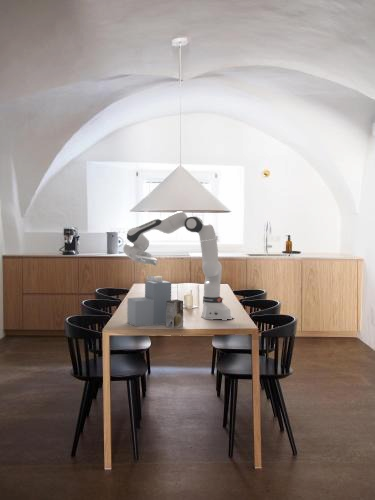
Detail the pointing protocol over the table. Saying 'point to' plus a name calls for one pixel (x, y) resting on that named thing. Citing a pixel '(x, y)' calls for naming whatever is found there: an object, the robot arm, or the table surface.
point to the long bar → (155, 278)
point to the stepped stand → (150, 305)
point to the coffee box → (174, 314)
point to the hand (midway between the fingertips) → (150, 263)
